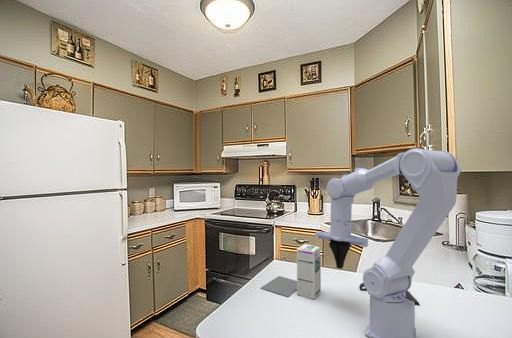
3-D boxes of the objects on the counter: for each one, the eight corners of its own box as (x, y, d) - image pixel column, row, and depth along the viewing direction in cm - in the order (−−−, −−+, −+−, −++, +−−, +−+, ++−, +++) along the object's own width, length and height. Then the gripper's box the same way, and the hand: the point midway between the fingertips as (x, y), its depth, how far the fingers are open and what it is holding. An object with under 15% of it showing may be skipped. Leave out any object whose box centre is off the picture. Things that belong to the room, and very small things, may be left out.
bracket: (355, 282, 91) (355, 274, 91) (401, 286, 89) (401, 278, 89) (364, 302, 77) (364, 293, 77) (419, 308, 74) (419, 298, 74)
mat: (304, 283, 88) (304, 282, 88) (288, 297, 78) (288, 296, 78) (278, 276, 94) (278, 275, 94) (260, 288, 84) (260, 287, 84)
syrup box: (314, 300, 77) (315, 250, 77) (296, 294, 80) (296, 247, 80) (320, 292, 81) (321, 246, 82) (303, 288, 85) (303, 243, 85)
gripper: (311, 218, 76) (310, 265, 76) (364, 225, 68) (363, 278, 67) (320, 215, 82) (319, 259, 82) (369, 221, 73) (369, 269, 73)
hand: (340, 267), depth 75 cm, fingers closed
